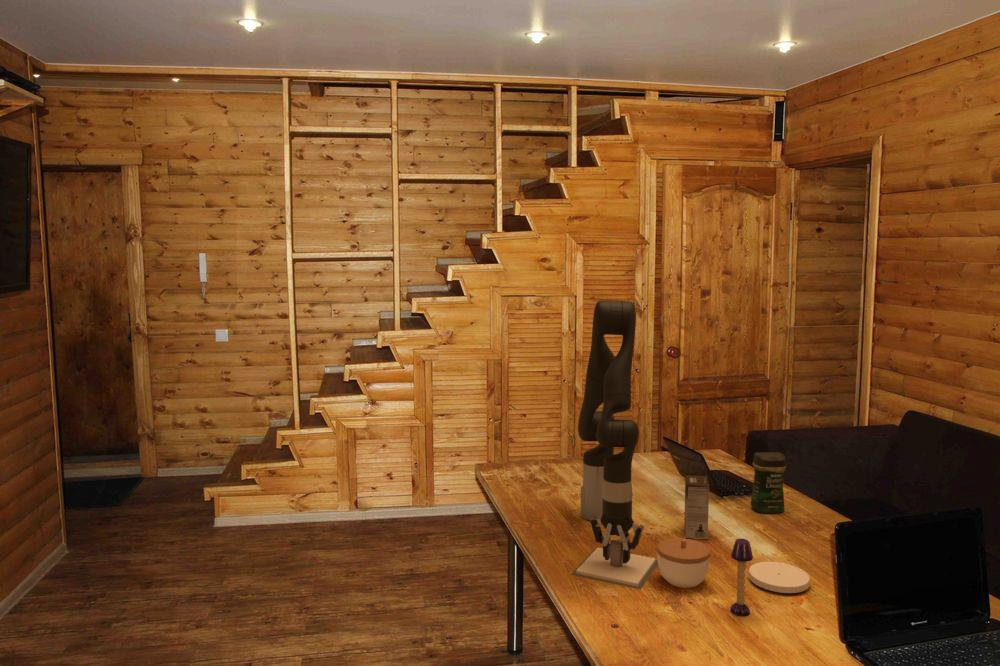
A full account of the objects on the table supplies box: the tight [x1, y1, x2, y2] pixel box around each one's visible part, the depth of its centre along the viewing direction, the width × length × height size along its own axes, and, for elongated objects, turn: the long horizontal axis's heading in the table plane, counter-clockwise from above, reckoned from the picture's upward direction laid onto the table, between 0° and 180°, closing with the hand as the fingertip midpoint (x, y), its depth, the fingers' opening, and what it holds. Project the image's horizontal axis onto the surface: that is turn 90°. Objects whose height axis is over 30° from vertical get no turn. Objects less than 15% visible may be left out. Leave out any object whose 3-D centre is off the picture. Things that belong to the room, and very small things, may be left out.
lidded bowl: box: [656, 537, 711, 589], centre depth 176 cm, size 13×13×11 cm
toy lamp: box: [730, 538, 754, 617], centre depth 162 cm, size 5×5×17 cm
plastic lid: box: [748, 561, 811, 594], centre depth 176 cm, size 14×14×2 cm
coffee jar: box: [750, 451, 787, 514], centre depth 224 cm, size 10×8×19 cm
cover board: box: [575, 539, 657, 587], centre depth 184 cm, size 16×16×7 cm
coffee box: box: [684, 474, 710, 540], centre depth 206 cm, size 9×6×16 cm
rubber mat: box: [570, 547, 659, 590], centre depth 184 cm, size 18×18×1 cm
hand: (616, 560), depth 184 cm, fingers open, 4 cm apart
